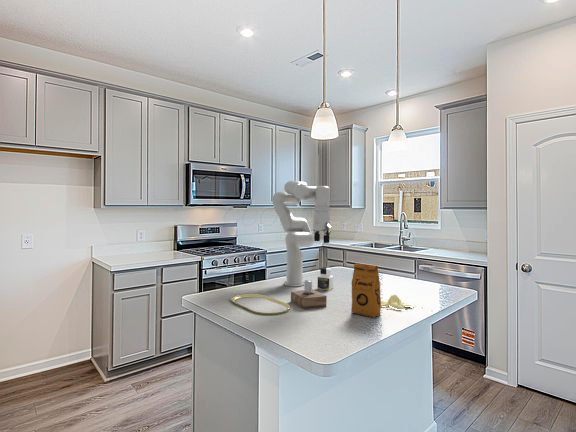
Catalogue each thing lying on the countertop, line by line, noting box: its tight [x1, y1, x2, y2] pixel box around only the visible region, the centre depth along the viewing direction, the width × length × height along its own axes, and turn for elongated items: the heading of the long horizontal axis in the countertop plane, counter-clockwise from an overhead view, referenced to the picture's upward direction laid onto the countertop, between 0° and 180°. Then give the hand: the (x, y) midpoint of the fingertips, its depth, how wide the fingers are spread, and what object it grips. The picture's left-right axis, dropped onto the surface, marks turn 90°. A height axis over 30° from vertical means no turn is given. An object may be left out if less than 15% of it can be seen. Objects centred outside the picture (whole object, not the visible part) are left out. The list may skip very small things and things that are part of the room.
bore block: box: [290, 288, 327, 310], centre depth 167 cm, size 14×12×5 cm
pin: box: [303, 279, 313, 295], centre depth 167 cm, size 4×4×10 cm
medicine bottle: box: [317, 266, 334, 291], centre depth 199 cm, size 7×7×12 cm
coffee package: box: [351, 263, 382, 318], centre depth 152 cm, size 10×12×22 cm
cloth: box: [381, 294, 413, 309], centre depth 164 cm, size 22×19×6 cm
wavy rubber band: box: [231, 293, 291, 316], centre depth 165 cm, size 19×35×2 cm, turn 38°
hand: (321, 241), depth 183 cm, fingers open, 9 cm apart
